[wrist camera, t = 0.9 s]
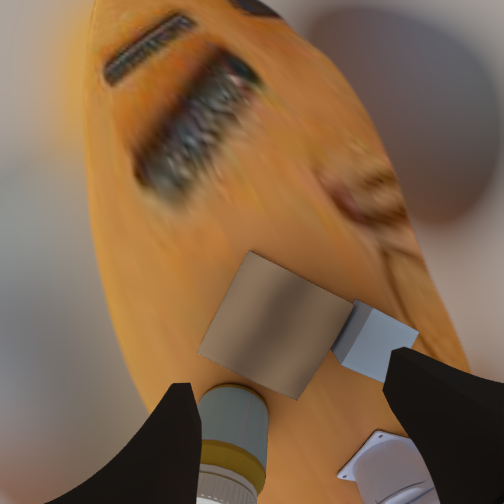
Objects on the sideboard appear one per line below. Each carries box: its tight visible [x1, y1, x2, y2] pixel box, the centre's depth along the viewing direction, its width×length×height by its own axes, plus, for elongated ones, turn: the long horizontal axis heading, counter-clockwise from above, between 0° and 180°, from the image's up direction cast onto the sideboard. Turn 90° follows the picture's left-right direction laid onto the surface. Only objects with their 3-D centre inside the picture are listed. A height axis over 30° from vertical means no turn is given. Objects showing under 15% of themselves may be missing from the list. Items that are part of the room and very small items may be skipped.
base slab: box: [197, 251, 354, 400], centre depth 24 cm, size 10×10×2 cm
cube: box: [331, 299, 419, 383], centre depth 22 cm, size 5×5×5 cm
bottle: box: [196, 384, 269, 504], centre depth 17 cm, size 7×7×15 cm
